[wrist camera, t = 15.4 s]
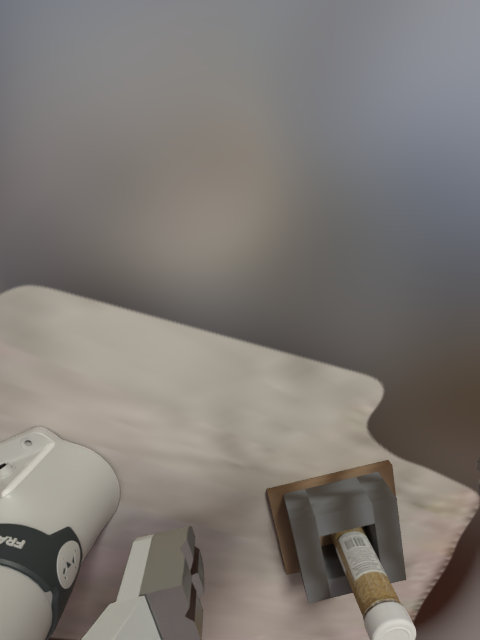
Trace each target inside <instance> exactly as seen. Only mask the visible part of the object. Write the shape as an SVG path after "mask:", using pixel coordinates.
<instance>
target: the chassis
mask: <svg viewBox="0 0 480 640" xmlns="http://www.w3.org/2000/svg"><path fill="white" fill-rule="evenodd" d="M267 493H268V497H269V501H270V506H271V510H272V514H273V518H274V523H275V527H276V531H277V535H278V540H279V544H280V548H281V552H282V557H283V561H284V565H285V569H286V574H287V575H288V574H292V573H296V572H301V576H302V579H303V583H304V587H305V591H306V595H307V599H308V603H312V602H316V601H320V600H325V599H329V598H333V597H337V596H341V595H345V594H349V593H353V591H352V588H351V586H350V583H349V581H348V578H347V576H346V574H345V572H344V570H343V567H342V565H341V562H340V560H339V557H338V555H337V552H336V548H335V546H334V543H333V541H332V538H331V536H330V535H329V534H333V533H337V532H341V531H345V530H350V529H354V528H358V527H362V530H363V532H364V533H365V535H366V537H367V538H368V540H369V542H370V544H371V546H372V548H373V549H374V551H375V553H376V555H377V557H378V559H379V561H380V563H381V565H382V567H383V569H384V571H385V573H386V575H387V577H388V579H389V581H390V583H394V582H398V581H402V580H406V574H405V566H404V557H403V549H402V540H401V532H400V524H399V515H398V507H397V498H396V493H395V485H394V477H393V468H392V464H391V463H390V462H389V460H386V461H382V462H378V463H374V464H370V465H365V466H361V467H357V468H353V469H349V470H344V471H340V472H336V473H332V474H328V475H323V476H319V477H315V478H311V479H307V480H302V481H298V482H294V483H290V484H285V485H281V486H277V487H273V488H269V489H267Z"/></svg>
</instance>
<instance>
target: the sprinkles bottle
mask: <svg viewBox="0 0 480 640" xmlns="http://www.w3.org/2000/svg"><path fill="white" fill-rule="evenodd" d="M329 535H330V536H331V538H332V541H333V543H334V546H335V548H336V552H337V555H338V557H339V560H340V562H341V565H342V567H343V570H344V572H345V574H346V576H347V578H348V581H349V583H350V586H351V588H352V591H353V593H354V596H355V598H356V601H357V603H358V606H359V608H360V611H361V613H362V615H363V619H364V625H365V628H366V631H367V633H368V636H369V638H370V640H415V637H416V629H415V627H414V624H413V622H412V620H411V618H410V616H409V615H408V613H407V611H406V609H405V608H404V607H403V605H402V604H401V602H400V601H399V599H398V597H397V595H396V593H395V591H394V589H393V587H392V585H391V583H390V581H389V579H388V577H387V575H386V573H385V571H384V569H383V567H382V565H381V563H380V561H379V559H378V557H377V555H376V553H375V551H374V549H373V548H372V546H371V544H370V542H369V540H368V538H367V537H366V535H365V533H364V532H363V530H362V527H358V528H354V529H350V530H345V531H341V532H337V533H333V534H329Z"/></svg>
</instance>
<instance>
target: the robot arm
mask: <svg viewBox="0 0 480 640" xmlns="http://www.w3.org/2000/svg"><path fill="white" fill-rule="evenodd" d="M28 440H30V441H31V442H32V443H30V442H29V441H28ZM477 470H478V471H479V472H480V457H479V458H478V459H477ZM478 493H479V495H480V479H479V481H478ZM119 500H120V487H119V482H118V479H117V477H116V475H115V473H114V471H113V469H112V468H111V466H110V465H109V464H108V463H107V462H106V461H105V460H104V459H103V458H102V457H101V456H99V455H98V454H97V453H95V452H93V451H92V450H90V449H88V448H86V447H83V446H80V445H77V444H74V443H70V442H67V441H64V440H62V439H60V438H59V437H58V436H56V435H55V434H54V433H52V432H51V431H49V430H47V429H45V428H43V427H35V428H33V429H30V430H28V431H26V432H24V433H21V434H19V435H17V436H14V437H12V438H10V439H8V440H5V441H3V442H1V443H0V640H48V639H49V638H50V636H51V635H52V634H53V632H54V630H55V628H56V626H57V624H58V621H59V619H60V617H61V615H62V613H63V611H64V608H65V606H66V604H67V601H68V599H69V597H70V594H71V592H72V590H73V587H74V584H75V581H76V578H77V575H78V572H79V569H80V566H81V564H82V562H83V561H84V559H85V557H86V555H87V554H88V552H89V551H90V550H91V548H92V546H93V544H94V543H95V540H96V539H97V537H98V536H99V534H100V532H101V531H102V529H103V528H104V527H105V525H106V524H107V523H108V521H109V520H110V519H111V517H112V516H113V515H114V513H115V511H116V509H117V507H118V504H119ZM194 545H195V535H194V532H193V529H192V527H191V526H187V527H182V528H178V529H173V530H168V531H163V532H159V533H155V534H151V535H146V536H141V537H137V538H136V539H135V541H134V542H133V545H132V548H131V552H130V555H129V558H128V562H127V565H126V569H125V572H124V576H123V579H122V582H121V586H120V589H119V593H118V596H117V599H116V602H114V603H111V604H109V605H108V607H107V608H106V609H105V610H104V612H103V613H102V614H101V615H100V617H99V618H98V619H97V620H96V622H95V623H94V624H93V626H92V627H91V628H90V629H89V631H88V632H87V633H86V634H85V636H84V637H83V638H82V639H81V640H202V620H203V609H202V606H201V603H200V600H199V599H200V597H201V595H202V594H203V592H204V570H203V562H202V557H201V554H200V550H199V549H198V548H197V547H195V546H194Z"/></svg>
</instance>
